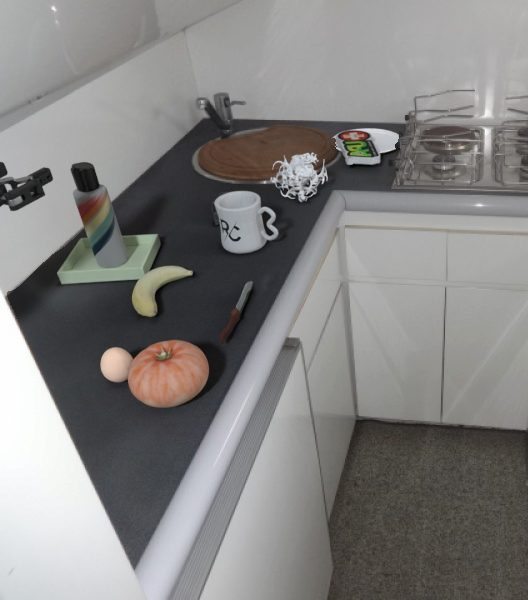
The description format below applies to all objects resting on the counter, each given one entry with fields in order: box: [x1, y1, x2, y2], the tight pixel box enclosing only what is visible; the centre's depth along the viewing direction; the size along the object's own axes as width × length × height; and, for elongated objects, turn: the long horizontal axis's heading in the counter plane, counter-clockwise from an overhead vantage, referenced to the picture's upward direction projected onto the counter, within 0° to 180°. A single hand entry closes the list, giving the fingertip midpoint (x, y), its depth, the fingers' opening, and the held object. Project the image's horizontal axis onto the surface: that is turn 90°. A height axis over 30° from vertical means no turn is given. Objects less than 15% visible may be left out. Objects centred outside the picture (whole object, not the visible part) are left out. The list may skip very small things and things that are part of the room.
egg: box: [100, 346, 134, 383], centre depth 85 cm, size 4×4×6 cm
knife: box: [218, 280, 254, 344], centre depth 99 cm, size 18×2×3 cm, turn 177°
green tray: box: [56, 233, 162, 285], centre depth 114 cm, size 15×13×2 cm
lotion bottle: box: [69, 161, 128, 268], centre depth 108 cm, size 6×6×20 cm
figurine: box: [270, 152, 329, 203], centre depth 137 cm, size 13×15×12 cm
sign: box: [335, 129, 381, 166], centre depth 158 cm, size 22×2×10 cm
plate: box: [332, 127, 400, 155], centre depth 167 cm, size 21×21×1 cm
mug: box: [213, 190, 279, 255], centre depth 117 cm, size 12×9×10 cm
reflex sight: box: [210, 191, 230, 225], centre depth 130 cm, size 4×10×5 cm, turn 8°
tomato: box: [127, 339, 210, 409], centre depth 82 cm, size 11×11×8 cm
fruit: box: [131, 265, 194, 318], centre depth 104 cm, size 7×15×3 cm, turn 172°
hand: (26, 170), depth 92 cm, fingers open, 8 cm apart
